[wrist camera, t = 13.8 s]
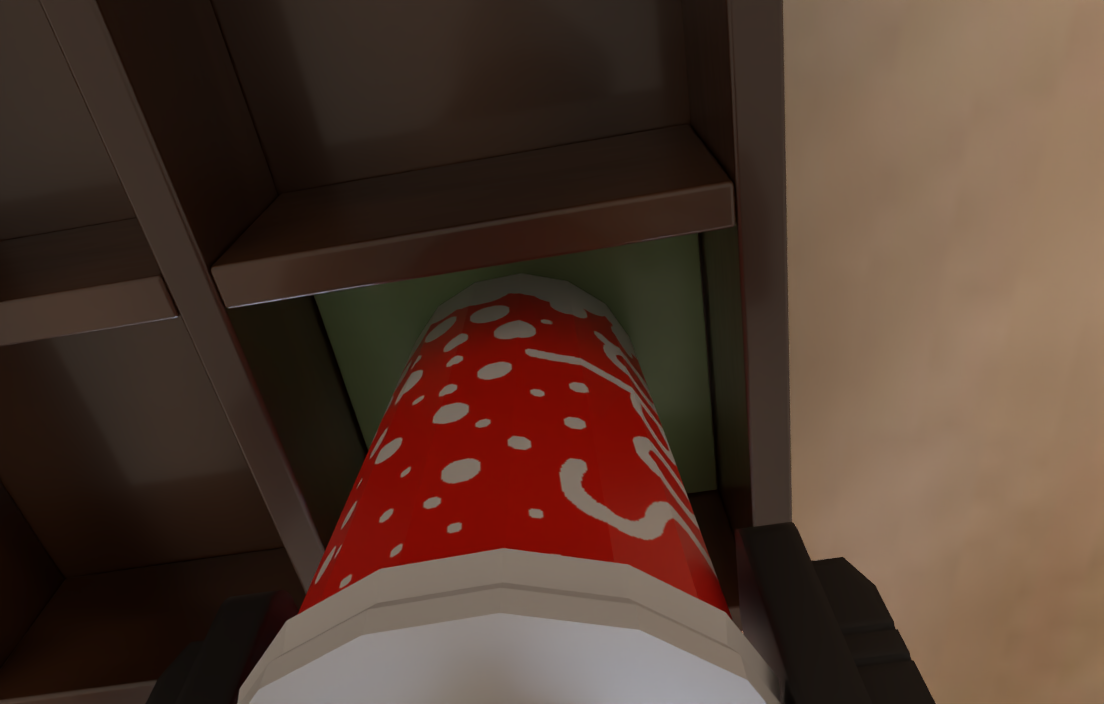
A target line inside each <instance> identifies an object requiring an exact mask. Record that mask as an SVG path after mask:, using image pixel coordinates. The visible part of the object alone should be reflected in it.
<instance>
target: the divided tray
mask: <svg viewBox="0 0 1104 704" xmlns="http://www.w3.org/2000/svg"><path fill="white" fill-rule="evenodd" d="M520 273H523V274H528V275H534V276H540V277H546V278H552V279H558V280H564V281H568V282H570V283H571V284H573V285H575V286H576V287H578V288H580V289H581V290H583V291H585V292H586V293H588V294H590V295H591V296H593V297H595V298H596V299H598V300H600V301H601V302H603V303H605V304H606V305H607V307H608V308H609V309H610V311H611V312H612V314H613V315H614V316H615V318H616V319H617V321H618V322H619V323H620V325H621V326H622V328H623V329H624V330H625V332H626V333H627V335H628V336H629V337H630V340H631V343H632V345H633V348H634V351H635V354H636V356H637V359H638V362H639V365H640V367H641V370H642V373H643V376H644V378H645V381H646V384H647V386H648V389H649V392H650V395H651V397H652V400H653V403H654V406H655V408H656V411H657V414H658V417H659V419H660V422H661V425H662V428H663V430H664V433H665V436H666V439H667V441H668V444H669V447H670V449H671V452H672V455H673V458H674V460H675V463H676V466H677V469H678V471H679V474H680V477H681V480H682V482H683V485H684V488H685V491H686V493H687V496H688V499H689V502H690V504H691V507H692V510H693V512H694V515H695V518H696V521H697V523H698V526H699V529H700V532H701V534H702V537H703V540H704V543H705V545H706V548H707V551H708V554H709V556H710V559H711V562H712V565H713V567H714V570H715V573H716V575H717V578H718V581H719V584H720V586H721V589H722V592H723V595H724V597H725V600H726V603H727V606H728V608H729V611H730V614H731V617H732V619H733V622H734V623H735V625H736V626H737V627H738V628H739V630H740V631H743V628H742V622H741V615H740V605H739V590H738V575H737V560H736V545H735V531H736V529H741V528H748V527H755V526H763V525H770V524H778V523H785V522H792V493H791V436H790V379H789V322H788V265H787V208H786V151H785V94H784V37H783V0H0V704H146V702H147V700H148V698H149V696H150V694H151V692H152V690H153V688H154V686H155V684H156V682H157V680H158V678H159V676H160V675H161V674H162V673H163V672H164V671H165V670H166V669H167V667H168V666H169V665H170V664H171V663H172V662H173V661H174V660H175V659H176V657H177V656H178V655H179V654H180V653H181V652H182V651H183V650H184V649H185V647H186V646H187V645H188V644H189V643H190V642H195V641H203V640H204V639H205V637H206V635H207V633H208V631H209V629H210V627H211V624H212V622H213V620H214V618H215V616H216V614H217V612H218V609H219V608H220V606H221V604H222V603H223V602H224V601H225V600H226V599H227V598H229V597H232V596H239V595H247V594H254V593H261V592H268V591H276V590H286V591H287V592H288V593H289V594H290V595H291V596H292V598H293V600H294V602H295V604H296V606H297V608H298V611H299V610H300V608H301V605H302V603H303V601H304V598H305V596H306V594H307V591H308V589H309V587H310V585H311V582H312V580H313V578H314V575H315V573H316V571H317V568H318V566H319V564H320V561H321V559H322V557H323V555H324V552H325V550H326V548H327V545H328V543H329V541H330V538H331V536H332V534H333V531H334V529H335V527H336V525H337V522H338V520H339V518H340V515H341V513H342V511H343V508H344V506H345V504H346V501H347V499H348V497H349V495H350V492H351V490H352V488H353V485H354V483H355V481H356V478H357V476H358V474H359V471H360V469H361V467H362V465H363V462H364V460H365V458H366V455H367V453H368V451H369V448H370V446H371V444H372V441H373V439H374V437H375V435H376V432H377V430H378V428H379V425H380V423H381V421H382V418H383V416H384V414H385V411H386V409H387V407H388V405H389V402H390V400H391V398H392V395H393V393H394V391H395V388H396V386H397V384H398V381H399V379H400V377H401V375H402V372H403V370H404V368H405V365H406V363H407V361H408V358H409V356H410V354H411V351H412V349H413V347H414V345H415V342H416V340H417V339H418V337H419V336H420V334H421V332H422V331H423V329H424V328H425V326H426V325H427V323H428V322H429V320H430V319H431V317H432V315H433V314H434V312H435V311H436V309H437V308H438V306H440V305H441V304H443V303H444V302H446V301H448V300H449V299H451V298H452V297H454V296H455V295H457V294H458V293H460V292H461V291H463V290H464V289H466V288H467V287H469V286H471V285H472V284H474V283H475V282H480V281H485V280H490V279H495V278H500V277H505V276H510V275H515V274H520Z"/></svg>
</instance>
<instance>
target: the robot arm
mask: <svg viewBox="0 0 1104 704" xmlns="http://www.w3.org/2000/svg"><path fill="white" fill-rule="evenodd" d="M735 545H736V560H737V575H738V590H739V605H740V615H741V622H742V628H743V634H744V636H745V637H746V638H747V639H748V641H749V642H750V643H751V644H752V646H753V647H754V648H755V649H756V651H757V652H758V653H759V654H760V656H761V657H762V658H763V659H764V661H765V662H766V663H767V664H768V665H769V667H770V668H771V669H772V670H773V672H774V673H775V674H776V675H777V677H778V678H779V686H780V697H781V704H936V703H935V701H934V700H933V698H932V696H931V694H930V692H929V690H928V688H927V686H926V684H925V682H924V680H923V678H922V676H921V674H920V672H919V670H918V668H917V666H916V664H915V662H914V661H912V660H911V658H910V653H909V651H908V649H907V647H906V645H905V643H904V641H903V639H902V637H901V635H900V633H899V631H898V629H895V626H894V621H893V619H892V617H891V615H890V613H889V611H888V610H887V608H886V606H885V604H884V602H883V600H882V598H881V596H880V594H879V592H878V590H877V588H876V586H875V585H874V584H873V583H872V582H871V581H869V580H868V579H867V578H866V577H865V576H864V575H863V574H862V573H860V572H859V571H858V570H857V569H856V568H855V567H854V566H853V565H851V564H850V563H849V562H848V561H847V560H846V559H845V558H843V557H839V558H832V559H824V560H817V561H811V560H810V557H809V555H808V553H807V550H806V548H805V546H804V543H803V541H802V539H801V536H800V534H799V532H798V530H797V528H796V526H795V524H794V523H793V522H785V523H778V524H770V525H763V526H755V527H748V528H741V529H736V531H735ZM298 612H299V611H298V608H297V606H296V604H295V602H294V600H293V598H292V596H291V595H290V594H289V593H288V592H287V591H286V590H276V591H268V592H261V593H254V594H247V595H239V596H232V597H229V598H227V599H226V600H225V601H224V602H223V603H222V604H221V606H220V608H219V609H218V612H217V614H216V616H215V618H214V620H213V622H212V624H211V627H210V629H209V631H208V633H207V635H206V637H205V639H204V640H203V641H195V642H190V643H189V644H188V645H187V646H186V647H185V649H184V650H183V651H182V652H181V653H180V654H179V655H178V656H177V657H176V659H175V660H174V661H173V662H172V663H171V664H170V665H169V666H168V667H167V669H166V670H165V671H164V672H163V673H162V674H161V675H160V676H159V678H158V680H157V682H156V684H155V686H154V688H153V690H152V692H151V694H150V696H149V698H148V700H147V702H146V704H237V703H238V696H239V689H240V688H241V686H242V685H243V683H244V682H245V680H246V679H247V677H248V676H249V674H250V673H251V672H252V670H253V669H254V667H255V666H256V664H257V663H258V661H259V660H260V659H261V657H262V656H263V654H264V653H265V651H266V650H267V648H268V647H269V646H270V644H271V643H272V641H273V640H274V638H275V637H276V635H277V634H278V633H279V631H280V630H281V628H282V627H283V625H284V624H285V622H286V621H287V620H289V619H290V618H292V617H294V616H296V615H298Z"/></svg>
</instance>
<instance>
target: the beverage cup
mask: <svg viewBox="0 0 1104 704" xmlns="http://www.w3.org/2000/svg"><path fill="white" fill-rule="evenodd" d="M237 704H781V697H780V686H779V678H778V677H777V675H776V674H775V673H774V672H773V670H772V669H771V668H770V667H769V665H768V664H767V663H766V662H765V661H764V659H763V658H762V657H761V656H760V654H759V653H758V652H757V651H756V649H755V648H754V647H753V646H752V644H751V643H750V642H749V641H748V639H747V638H746V637H745V636H744V634H743V633H742V632H741V631H740V630H739V628H738V627H737V626H736V625H735V623H734V622H733V619H732V617H731V614H730V611H729V608H728V606H727V603H726V600H725V597H724V595H723V592H722V589H721V586H720V584H719V581H718V578H717V575H716V573H715V570H714V567H713V565H712V562H711V559H710V556H709V554H708V551H707V548H706V545H705V543H704V540H703V537H702V534H701V532H700V529H699V526H698V523H697V521H696V518H695V515H694V512H693V510H692V507H691V504H690V502H689V499H688V496H687V493H686V491H685V488H684V485H683V482H682V480H681V477H680V474H679V471H678V469H677V466H676V463H675V460H674V458H673V455H672V452H671V449H670V447H669V444H668V441H667V439H666V436H665V433H664V430H663V428H662V425H661V422H660V419H659V417H658V414H657V411H656V408H655V406H654V403H653V400H652V397H651V395H650V392H649V389H648V386H647V384H646V381H645V378H644V376H643V373H642V370H641V367H640V365H639V362H638V359H637V356H636V354H635V351H634V348H633V345H632V343H631V340H630V337H629V336H628V335H627V333H626V332H625V330H624V329H623V328H622V326H621V325H620V323H619V322H618V321H617V319H616V318H615V316H614V315H613V314H612V312H611V311H610V309H609V308H608V307H607V305H606V304H605V303H603V302H601V301H600V300H598V299H596V298H595V297H593V296H591V295H590V294H588V293H586V292H585V291H583V290H581V289H580V288H578V287H576V286H575V285H573V284H571V283H570V282H568V281H564V280H558V279H552V278H546V277H540V276H534V275H528V274H523V273H520V274H515V275H510V276H505V277H500V278H495V279H490V280H485V281H480V282H475V283H474V284H472V285H471V286H469V287H467V288H466V289H464V290H463V291H461V292H460V293H458V294H457V295H455V296H454V297H452V298H451V299H449V300H448V301H446V302H444V303H443V304H441V305H440V306H438V308H437V309H436V311H435V312H434V314H433V315H432V317H431V319H430V320H429V322H428V323H427V325H426V326H425V328H424V329H423V331H422V332H421V334H420V336H419V337H418V339H417V340H416V342H415V345H414V347H413V349H412V351H411V354H410V356H409V358H408V361H407V363H406V365H405V368H404V370H403V372H402V375H401V377H400V379H399V381H398V384H397V386H396V388H395V391H394V393H393V395H392V398H391V400H390V402H389V405H388V407H387V409H386V411H385V414H384V416H383V418H382V421H381V423H380V425H379V428H378V430H377V432H376V435H375V437H374V439H373V441H372V444H371V446H370V448H369V451H368V453H367V455H366V458H365V460H364V462H363V465H362V467H361V469H360V471H359V474H358V476H357V478H356V481H355V483H354V485H353V488H352V490H351V492H350V495H349V497H348V499H347V501H346V504H345V506H344V508H343V511H342V513H341V515H340V518H339V520H338V522H337V525H336V527H335V529H334V531H333V534H332V536H331V538H330V541H329V543H328V545H327V548H326V550H325V552H324V555H323V557H322V559H321V561H320V564H319V566H318V568H317V571H316V573H315V575H314V578H313V580H312V582H311V585H310V587H309V589H308V591H307V594H306V596H305V598H304V601H303V603H302V605H301V608H300V610H299V612H298V615H296V616H294V617H292V618H290V619H289V620H287V621H286V622H285V624H284V625H283V627H282V628H281V630H280V631H279V633H278V634H277V635H276V637H275V638H274V640H273V641H272V643H271V644H270V646H269V647H268V648H267V650H266V651H265V653H264V654H263V656H262V657H261V659H260V660H259V661H258V663H257V664H256V666H255V667H254V669H253V670H252V672H251V673H250V674H249V676H248V677H247V679H246V680H245V682H244V683H243V685H242V686H241V688H240V689H239V696H238V703H237Z"/></svg>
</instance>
